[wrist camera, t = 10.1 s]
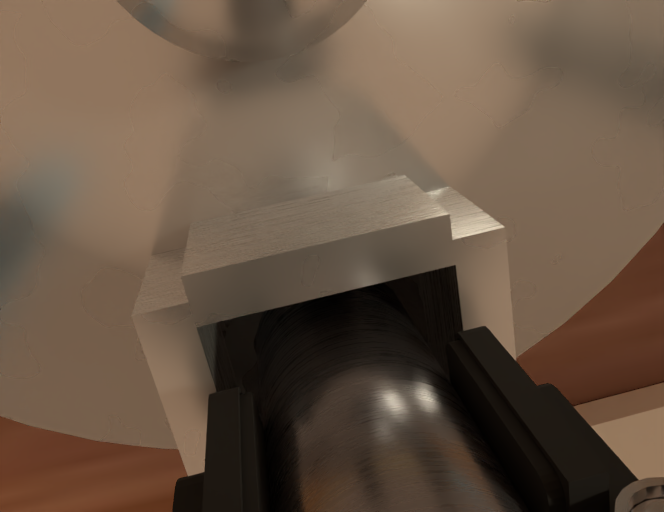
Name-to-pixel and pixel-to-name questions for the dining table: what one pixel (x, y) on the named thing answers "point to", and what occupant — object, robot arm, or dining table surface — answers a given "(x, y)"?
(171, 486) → the dining table surface
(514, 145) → the metal pot lid
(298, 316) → the grey brown cylinder
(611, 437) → the plate
